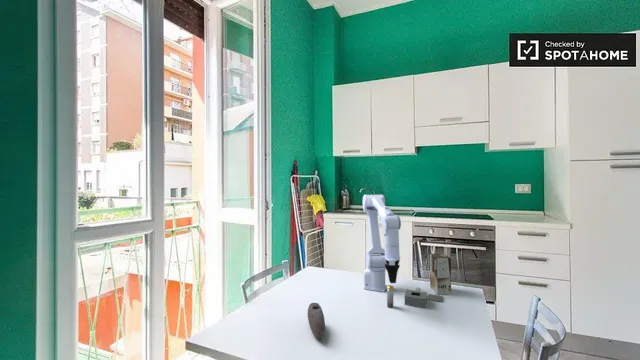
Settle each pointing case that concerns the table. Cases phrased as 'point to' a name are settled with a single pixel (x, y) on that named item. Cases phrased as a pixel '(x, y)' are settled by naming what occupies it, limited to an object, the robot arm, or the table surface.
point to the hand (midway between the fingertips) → (393, 280)
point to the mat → (435, 298)
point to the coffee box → (440, 273)
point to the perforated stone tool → (316, 320)
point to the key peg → (390, 296)
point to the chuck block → (416, 298)
